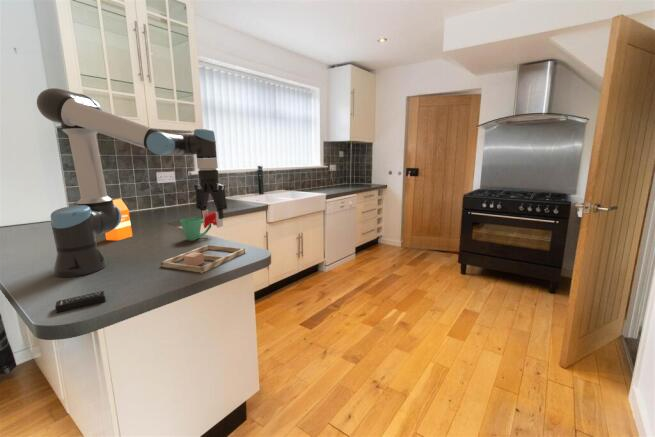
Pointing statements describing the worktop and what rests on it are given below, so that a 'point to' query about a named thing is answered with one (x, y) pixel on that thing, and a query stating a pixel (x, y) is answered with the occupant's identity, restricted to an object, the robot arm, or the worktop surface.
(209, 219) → the red rounded oval lump
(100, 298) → the multiport hub
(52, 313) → the worktop surface
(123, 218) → the orange juice
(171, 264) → the rack
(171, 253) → the worktop surface
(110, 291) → the worktop surface
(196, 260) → the block
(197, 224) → the mug
